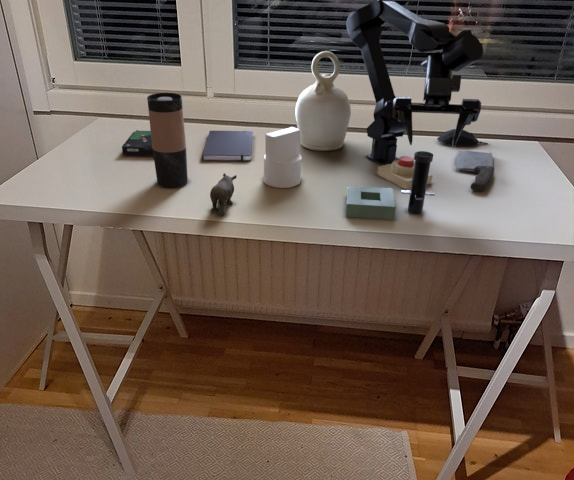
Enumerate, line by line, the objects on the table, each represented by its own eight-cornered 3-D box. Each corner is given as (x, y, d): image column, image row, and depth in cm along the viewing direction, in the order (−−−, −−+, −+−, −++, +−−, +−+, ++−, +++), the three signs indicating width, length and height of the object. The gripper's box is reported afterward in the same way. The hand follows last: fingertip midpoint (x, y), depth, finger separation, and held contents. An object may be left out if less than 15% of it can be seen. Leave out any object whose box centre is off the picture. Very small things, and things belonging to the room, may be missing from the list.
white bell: (313, 132, 168) (317, 44, 155) (357, 143, 161) (366, 51, 147) (283, 145, 158) (285, 51, 144) (329, 157, 150) (336, 59, 137)
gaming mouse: (490, 147, 160) (493, 134, 158) (439, 145, 160) (441, 132, 158) (484, 140, 165) (487, 127, 163) (435, 139, 166) (437, 125, 163)
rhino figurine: (241, 192, 128) (240, 167, 125) (226, 217, 117) (225, 190, 114) (224, 190, 129) (223, 165, 126) (207, 215, 118) (206, 188, 114)
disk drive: (161, 157, 147) (171, 139, 159) (160, 147, 146) (170, 129, 158) (122, 157, 147) (135, 138, 159) (121, 146, 145) (133, 129, 158)
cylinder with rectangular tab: (282, 171, 140) (283, 123, 134) (308, 181, 135) (310, 132, 129) (256, 179, 135) (255, 131, 128) (281, 190, 130) (282, 140, 123)
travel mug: (194, 179, 134) (188, 94, 124) (179, 190, 128) (171, 102, 117) (166, 174, 136) (158, 91, 126) (150, 185, 130) (139, 99, 119)
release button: (395, 164, 136) (396, 157, 135) (406, 161, 138) (407, 155, 137) (404, 168, 134) (405, 161, 133) (416, 166, 135) (417, 159, 134)
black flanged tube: (399, 217, 119) (408, 158, 112) (397, 203, 125) (405, 147, 118) (432, 219, 118) (443, 160, 111) (429, 205, 124) (438, 149, 117)
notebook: (210, 135, 163) (203, 160, 146) (209, 130, 163) (202, 154, 145) (253, 136, 164) (251, 161, 146) (253, 131, 163) (251, 155, 145)
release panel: (377, 174, 140) (379, 159, 138) (401, 169, 143) (403, 154, 141) (405, 189, 132) (408, 173, 130) (430, 183, 135) (433, 168, 133)
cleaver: (493, 194, 130) (495, 186, 129) (451, 189, 132) (452, 180, 131) (492, 156, 154) (493, 149, 153) (456, 152, 156) (457, 144, 155)
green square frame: (345, 216, 118) (347, 203, 117) (346, 197, 127) (347, 185, 125) (393, 219, 118) (395, 207, 116) (391, 200, 126) (392, 188, 125)
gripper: (397, 58, 118) (389, 127, 116) (488, 60, 115) (482, 131, 113) (395, 85, 129) (389, 148, 127) (479, 87, 125) (473, 153, 123)
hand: (432, 145), depth 122 cm, fingers open, 9 cm apart
